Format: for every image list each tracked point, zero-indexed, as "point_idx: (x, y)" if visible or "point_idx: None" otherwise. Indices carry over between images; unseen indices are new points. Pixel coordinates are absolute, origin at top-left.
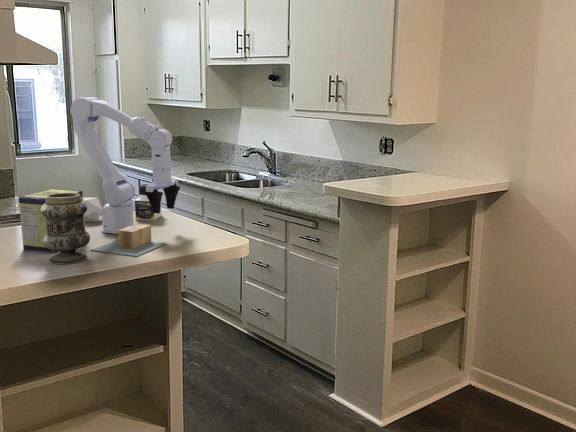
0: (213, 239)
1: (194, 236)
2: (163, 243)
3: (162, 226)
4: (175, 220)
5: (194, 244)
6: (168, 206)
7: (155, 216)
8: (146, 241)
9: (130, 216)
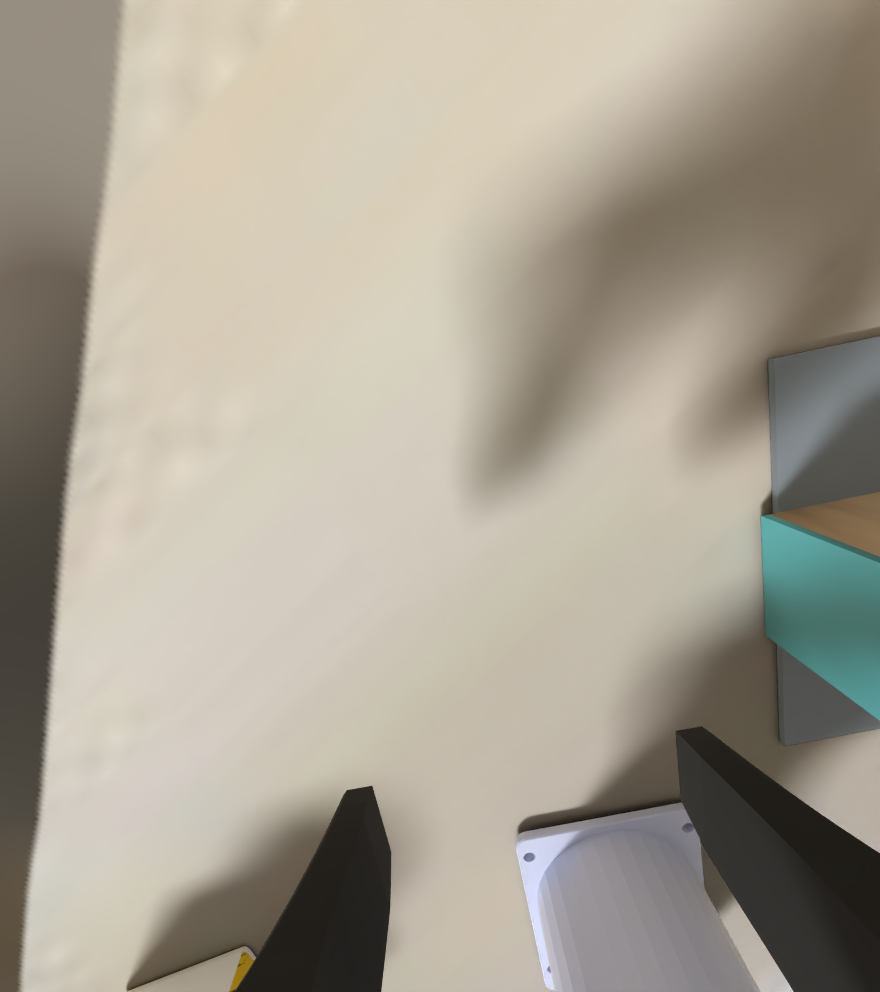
0: (390, 91)
1: (416, 348)
2: (778, 378)
3: (338, 786)
4: (139, 841)
5: (640, 125)
6: (384, 866)
7: (220, 978)
8: (839, 506)
9: (663, 968)
